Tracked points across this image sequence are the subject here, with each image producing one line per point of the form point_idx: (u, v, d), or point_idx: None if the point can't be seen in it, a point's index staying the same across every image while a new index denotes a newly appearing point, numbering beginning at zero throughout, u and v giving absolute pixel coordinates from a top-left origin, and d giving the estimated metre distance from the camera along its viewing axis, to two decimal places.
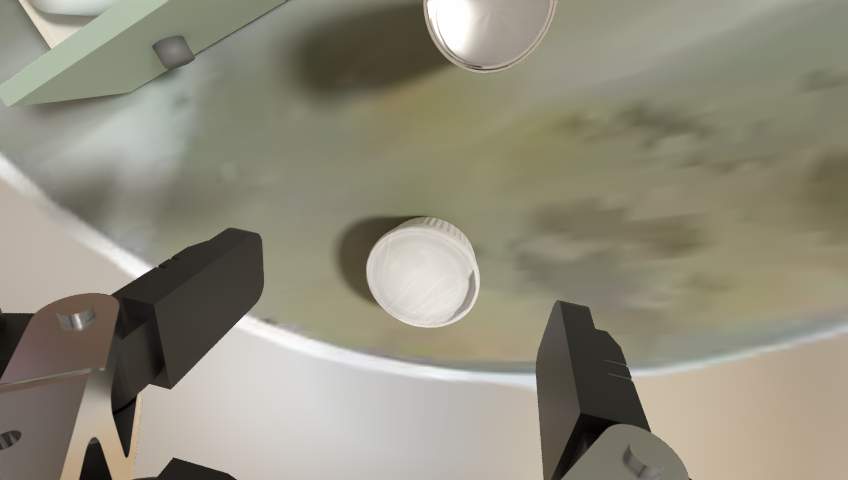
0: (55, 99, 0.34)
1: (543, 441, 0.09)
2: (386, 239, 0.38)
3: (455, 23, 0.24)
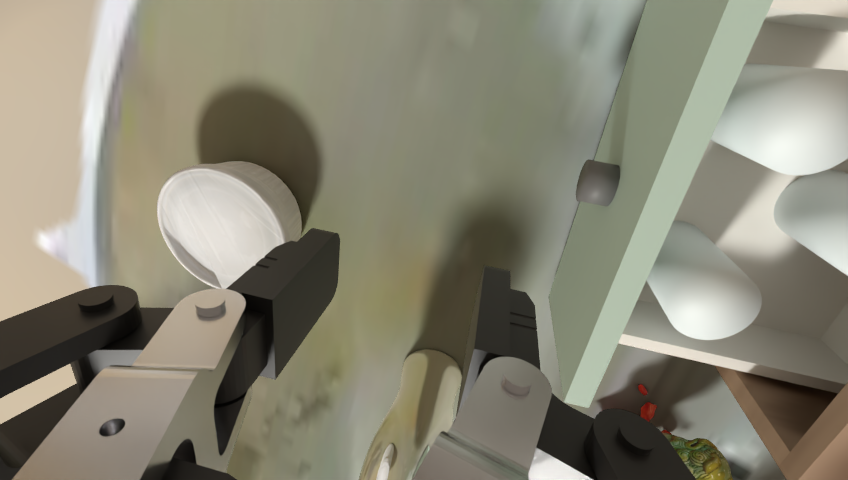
0: None
1: (461, 386, 0.10)
2: (278, 232, 0.31)
3: None
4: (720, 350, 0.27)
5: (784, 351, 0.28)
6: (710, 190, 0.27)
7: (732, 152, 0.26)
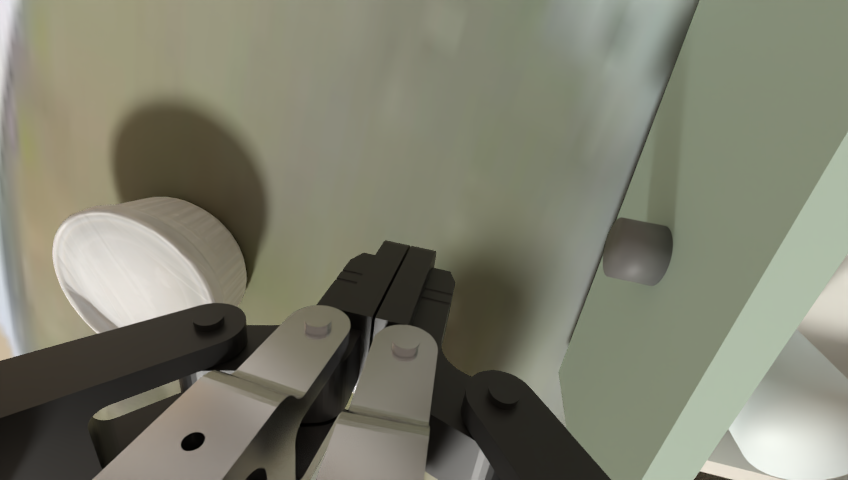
0: None
1: None
2: (205, 294, 0.24)
3: None
4: None
5: None
6: None
7: None
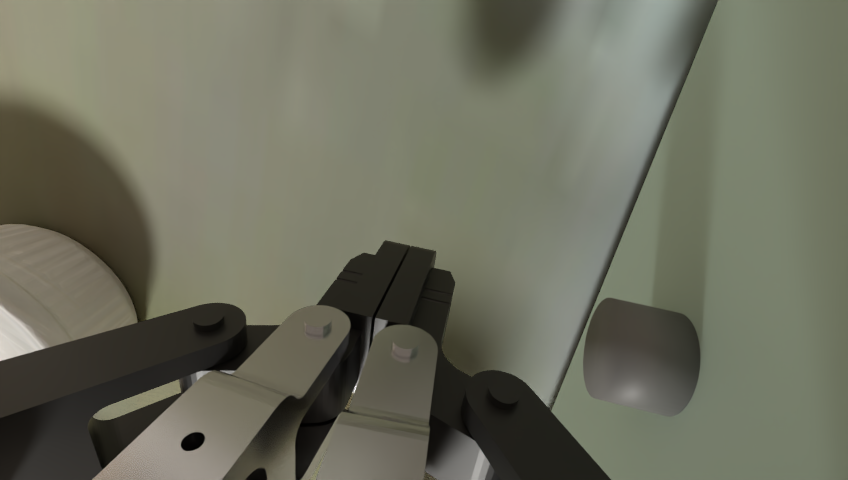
0: None
1: None
2: None
3: None
4: None
5: None
6: None
7: None
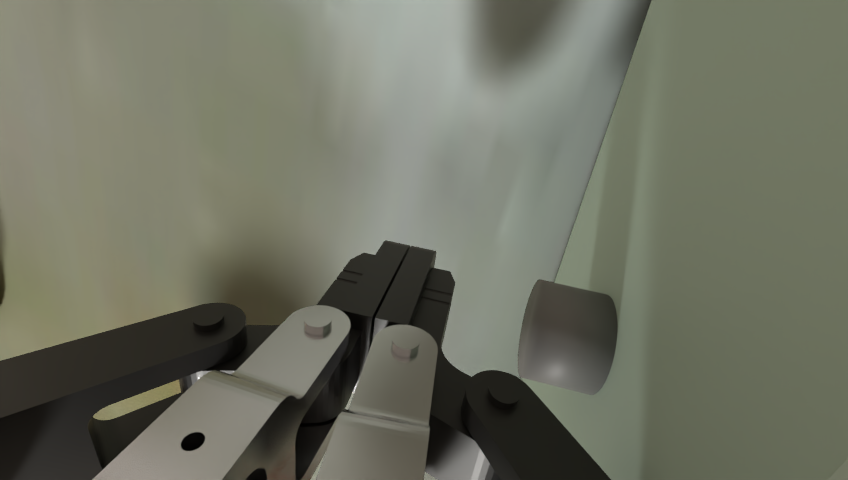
0: None
1: None
2: None
3: None
4: None
5: None
6: None
7: None
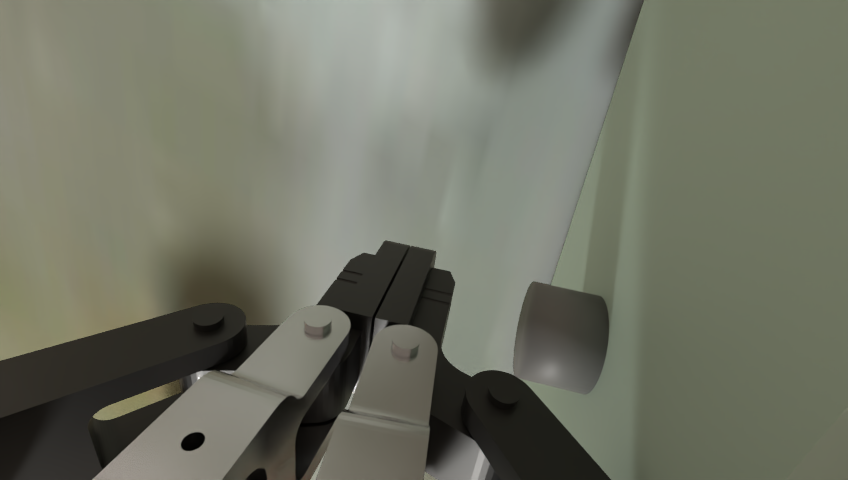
0: None
1: None
2: None
3: None
4: None
5: None
6: None
7: None
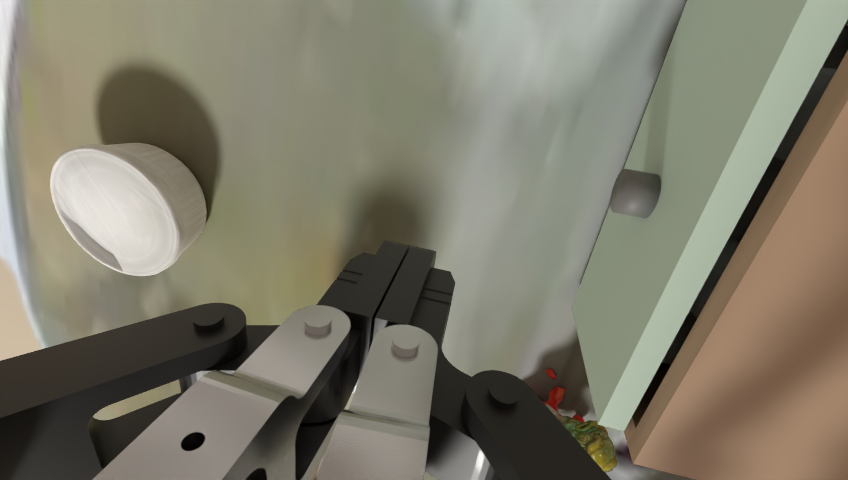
0: None
1: None
2: (168, 213, 0.31)
3: None
4: None
5: None
6: None
7: (774, 159, 0.24)
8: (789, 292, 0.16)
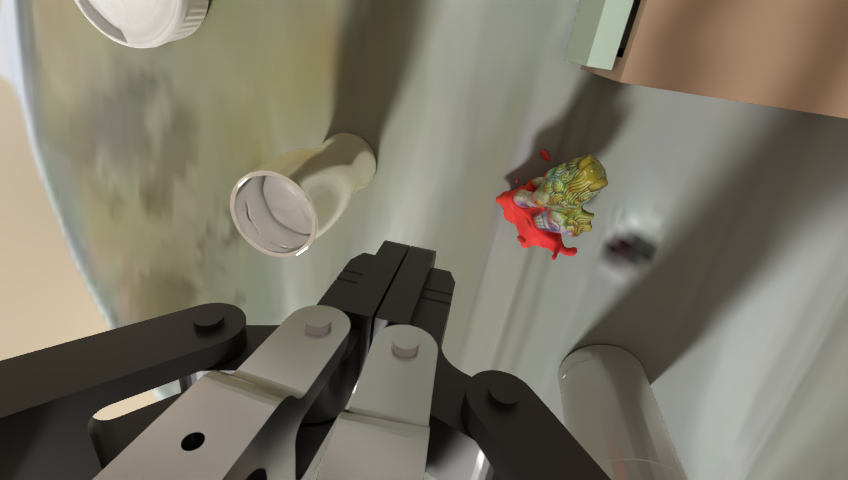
0: None
1: None
2: None
3: None
4: None
5: None
6: None
7: None
8: None
